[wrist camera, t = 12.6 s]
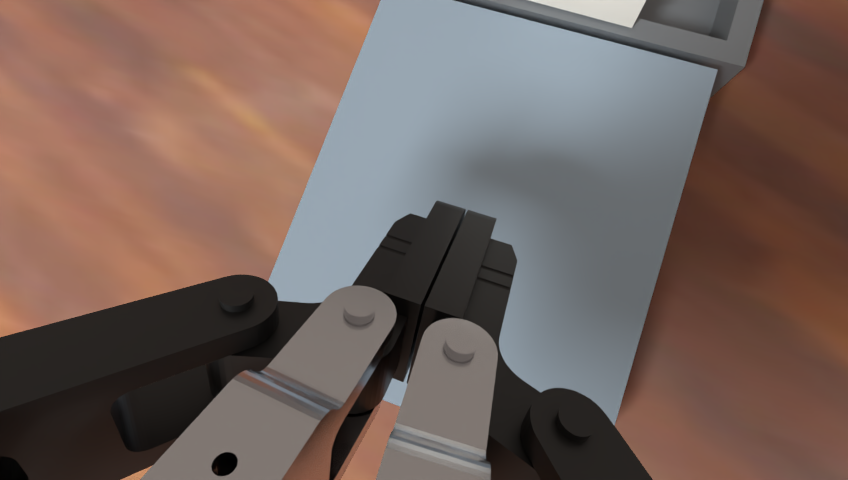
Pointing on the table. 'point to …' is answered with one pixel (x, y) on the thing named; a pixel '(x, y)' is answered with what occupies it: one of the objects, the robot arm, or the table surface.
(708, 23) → the tray
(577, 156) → the plate
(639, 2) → the white rectangular block
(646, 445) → the table surface
